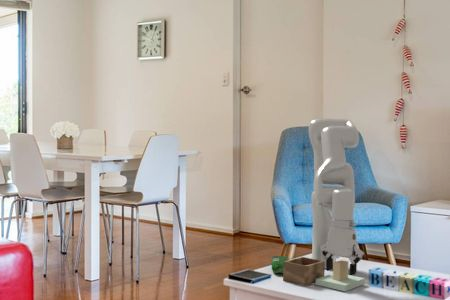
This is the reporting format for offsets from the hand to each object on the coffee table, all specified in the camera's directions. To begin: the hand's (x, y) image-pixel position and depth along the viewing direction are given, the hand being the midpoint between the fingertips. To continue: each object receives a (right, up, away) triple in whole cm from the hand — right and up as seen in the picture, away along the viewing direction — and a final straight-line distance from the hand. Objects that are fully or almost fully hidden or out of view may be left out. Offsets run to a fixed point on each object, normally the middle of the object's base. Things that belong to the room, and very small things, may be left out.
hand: (340, 272), depth 204 cm
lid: (0, -4, 0) cm, 4 cm away
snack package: (-20, -4, +19) cm, 28 cm away
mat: (0, -5, 0) cm, 5 cm away
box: (-12, -4, +6) cm, 14 cm away
